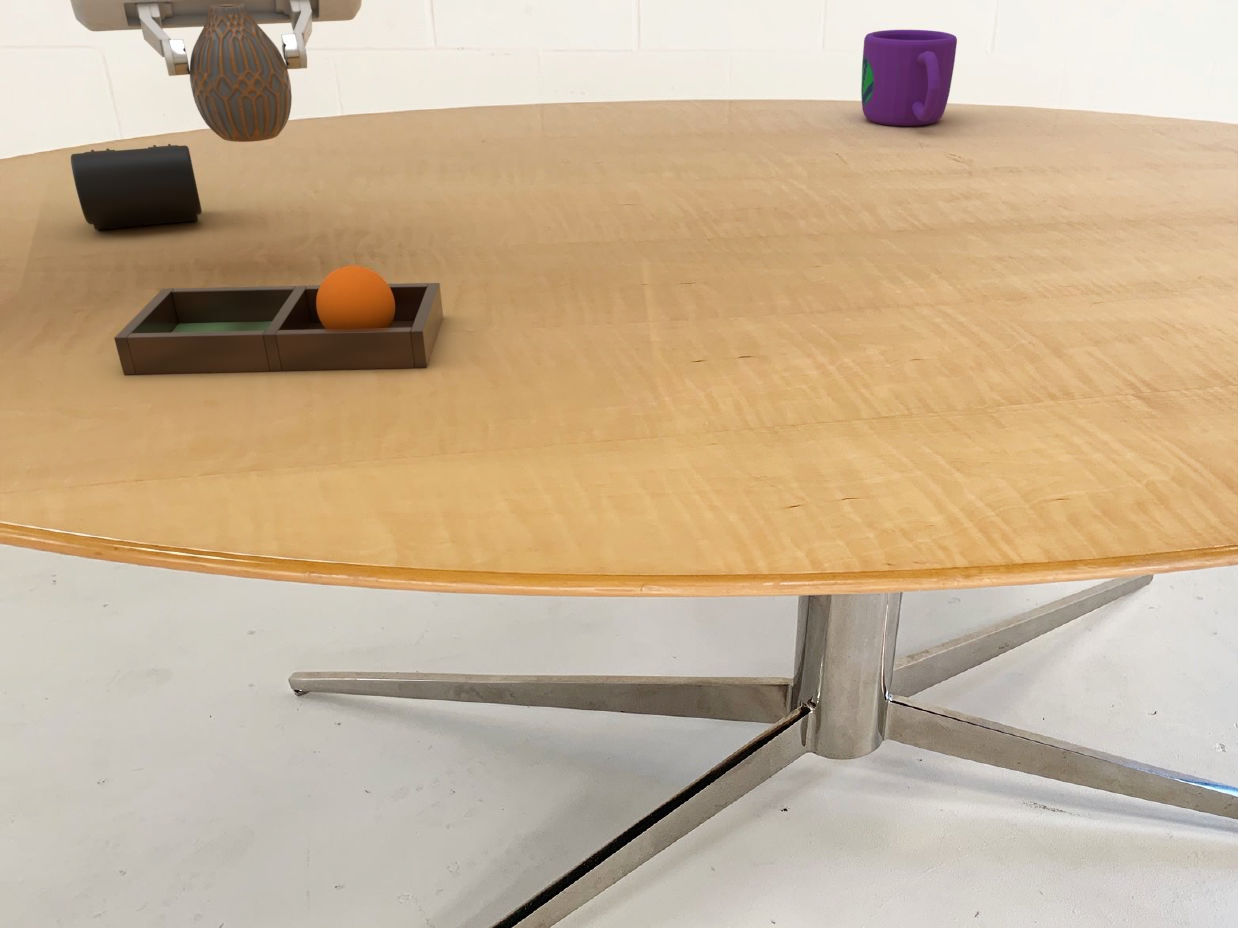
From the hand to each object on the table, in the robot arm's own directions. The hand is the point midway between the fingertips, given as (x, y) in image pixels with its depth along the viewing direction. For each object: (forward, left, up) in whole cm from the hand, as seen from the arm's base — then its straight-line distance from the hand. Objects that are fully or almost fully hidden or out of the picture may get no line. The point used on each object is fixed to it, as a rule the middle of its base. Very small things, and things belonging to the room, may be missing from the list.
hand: (238, 66), depth 84 cm
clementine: (+9, -14, -16) cm, 23 cm away
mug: (+65, +63, -16) cm, 92 cm away
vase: (0, +1, -5) cm, 5 cm away
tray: (+4, -14, -16) cm, 22 cm away
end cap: (-17, +21, -16) cm, 32 cm away
